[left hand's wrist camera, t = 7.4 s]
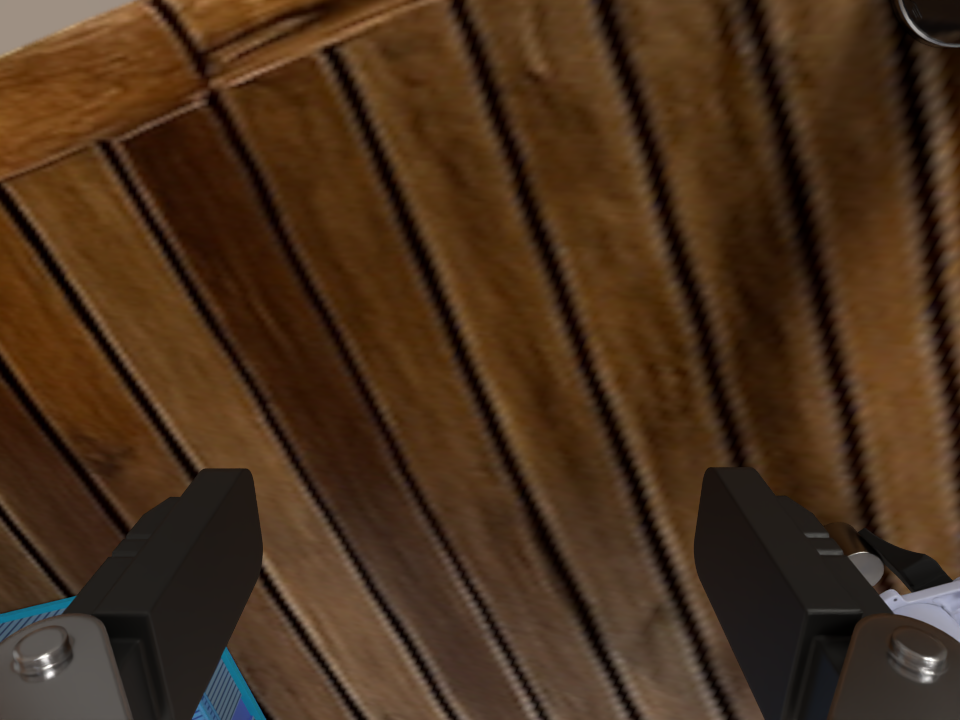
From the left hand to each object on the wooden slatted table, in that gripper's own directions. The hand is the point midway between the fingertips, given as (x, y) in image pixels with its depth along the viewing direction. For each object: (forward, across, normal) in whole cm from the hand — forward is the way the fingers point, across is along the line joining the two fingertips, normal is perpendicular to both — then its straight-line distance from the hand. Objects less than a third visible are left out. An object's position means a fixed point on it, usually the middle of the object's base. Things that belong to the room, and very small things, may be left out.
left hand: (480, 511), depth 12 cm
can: (+36, +30, -28) cm, 54 cm away
